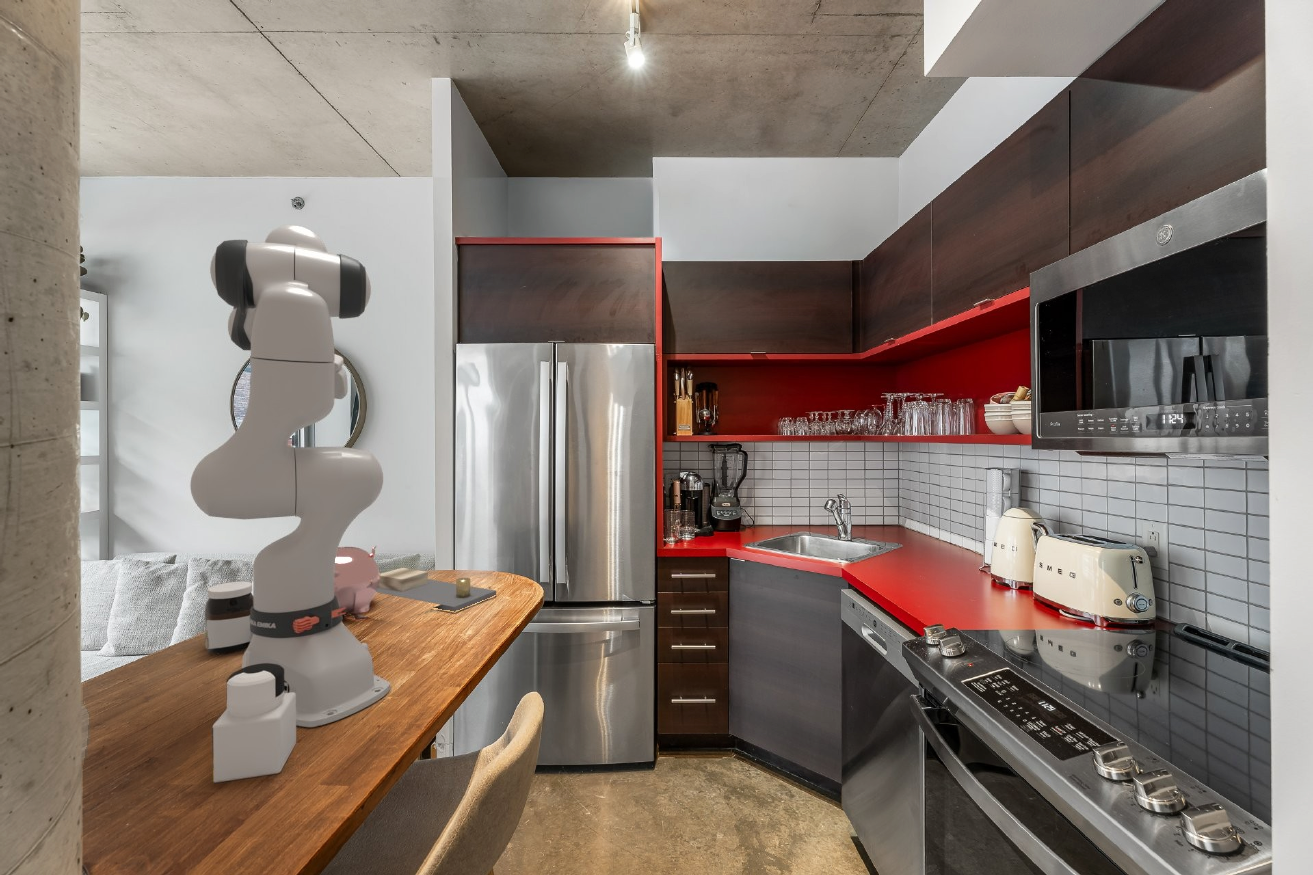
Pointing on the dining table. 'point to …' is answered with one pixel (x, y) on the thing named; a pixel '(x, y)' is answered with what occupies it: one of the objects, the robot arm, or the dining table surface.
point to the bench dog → (463, 587)
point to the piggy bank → (355, 580)
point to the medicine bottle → (254, 724)
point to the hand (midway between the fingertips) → (299, 410)
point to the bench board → (442, 595)
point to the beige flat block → (403, 579)
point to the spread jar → (228, 617)
